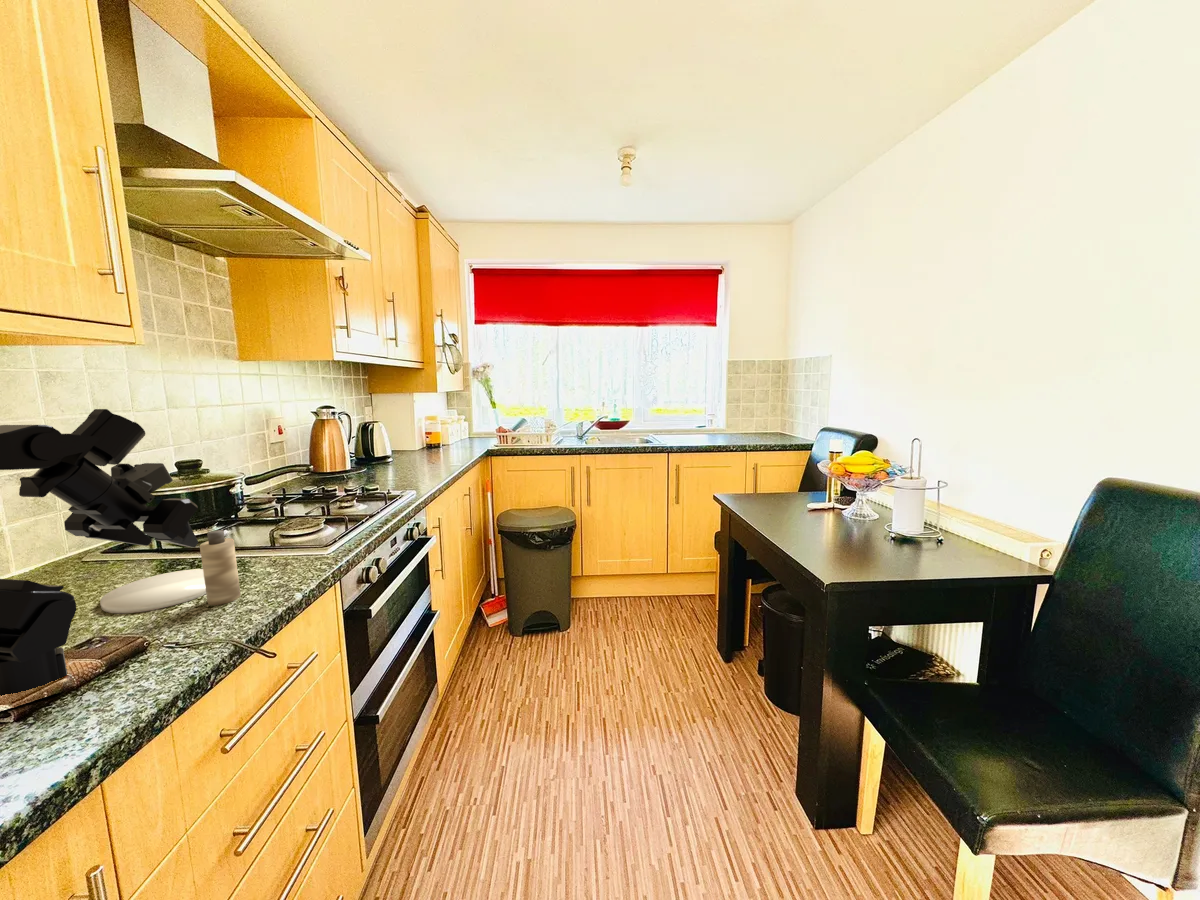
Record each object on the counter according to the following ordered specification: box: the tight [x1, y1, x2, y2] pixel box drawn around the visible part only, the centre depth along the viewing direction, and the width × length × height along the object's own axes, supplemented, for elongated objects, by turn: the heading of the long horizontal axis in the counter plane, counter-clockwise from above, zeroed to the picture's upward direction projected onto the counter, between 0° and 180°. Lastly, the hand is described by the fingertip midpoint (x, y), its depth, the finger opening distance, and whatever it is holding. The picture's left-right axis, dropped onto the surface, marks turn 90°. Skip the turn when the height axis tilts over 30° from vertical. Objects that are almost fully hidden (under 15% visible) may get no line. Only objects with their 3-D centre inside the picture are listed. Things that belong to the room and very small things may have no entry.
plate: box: [99, 568, 206, 614], centre depth 98 cm, size 18×18×1 cm
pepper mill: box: [199, 529, 242, 606], centre depth 93 cm, size 5×5×13 cm
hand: (172, 544), depth 84 cm, fingers open, 9 cm apart
